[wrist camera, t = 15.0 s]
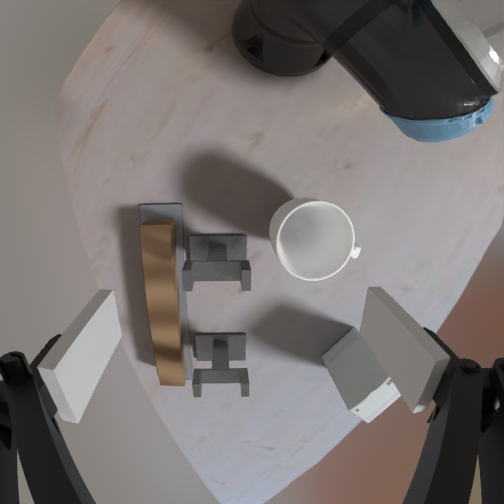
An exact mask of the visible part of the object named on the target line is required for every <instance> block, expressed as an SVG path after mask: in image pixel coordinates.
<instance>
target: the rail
mask: <svg viewBox="0 0 504 504" xmlns="http://www.w3.org/2000/svg"><path fill="white" fill-rule="evenodd" d="M140 236H141V249H142V261H143V272H144V282H145V291H146V299H147V307H148V315H149V322H150V329H151V335H152V341H153V348H154V353H155V359H156V365H157V370H158V375H159V380H160V385H166V386H185V379H186V372H187V370H186V362H185V354H184V344H183V335H182V325H181V314H180V302H179V289H178V274H177V257H176V236H175V219H157V220H146V221H145V222H144V223H142V224H141V225H140Z"/></svg>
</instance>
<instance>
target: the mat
mask: <svg viewBox="0 0 504 504" xmlns="http://www.w3.org/2000/svg"><path fill="white" fill-rule="evenodd" d="M140 218H141V224H142V223H144V222H145V221H146V220H157V219H175V236H176V257H177V274H178V289H179V302H180V314H181V325H182V335H183V344H184V354H185V362H186V370H187V372H186V379H185V380H193V367H192V357H191V348H190V337H189V326H188V315H187V302H186V291H183V285H182V268H183V266H184V252H183V226H182V204H157V205H140Z"/></svg>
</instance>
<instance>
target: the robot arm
mask: <svg viewBox="0 0 504 504" xmlns="http://www.w3.org/2000/svg"><path fill="white" fill-rule="evenodd" d="M232 32H233V38H234V42H235V44H236V46H237V48H238V50H239V51H240V53H241V54H242V55H243V56H244V58H245V59H246V60H248V61H249V62H250V63H251V64H253V65H254V66H256V67H257V68H259V69H261V70H263V71H265V72H268V73H271V74H275V75H279V76H289V77H291V76H302V75H306V74H309V73H312V72H314V71H316V70H318V69H319V68H321V67H322V66H323V65H324V64H325V63H326V62H327V61H329V60H330V58H331V57H334V58H335V59H336V60H337V61H338V62H339V63H340V64H341V65H342V66H343V67H344V68H345V69H346V70H347V71H348V72H349V73H350V74H351V75H352V76H353V77H354V79H355V80H356V81H357V82H358V83H359V84H360V85H361V86H362V87H363V88H364V89H365V90H366V91H367V93H368V94H369V95H370V96H371V97H372V98H373V99H374V100H375V102H376V103H377V104H378V105H379V107H380V110H381V111H382V112H383V113H384V114H385V115H386V116H388V117H389V118H390V119H391V120H392V121H393V122H394V123H395V124H396V125H397V127H398V128H399V129H400V130H401V131H402V132H403V133H404V134H405V135H406V136H408V137H410V138H413V139H415V140H417V141H421V142H441V141H446V140H451V139H454V138H457V137H460V136H462V135H465V134H467V133H469V132H471V131H472V130H474V129H476V124H481V123H484V122H485V121H486V120H487V119H488V117H489V116H490V114H491V112H492V110H493V102H492V101H493V99H492V96H493V95H495V94H498V93H500V92H502V90H503V85H504V0H244V1H243V2H242V3H241V4H240V5H239V7H238V9H237V10H236V13H235V15H234V19H233V28H232ZM360 333H361V335H362V336H363V338H364V339H365V341H366V342H367V344H368V345H369V347H370V348H371V350H372V351H373V353H374V354H375V356H376V357H377V359H378V360H379V362H380V363H381V365H382V366H383V368H384V369H385V371H386V372H387V374H388V375H389V377H390V378H391V380H392V382H393V383H394V385H395V386H396V388H397V389H398V391H399V392H400V394H401V396H402V397H403V399H404V400H405V402H406V404H407V405H408V407H409V408H410V410H411V411H412V413H416V412H419V411H423V410H426V409H427V408H428V406H429V404H430V402H431V400H432V399H433V400H434V401H435V403H436V406H435V408H434V410H433V412H432V414H431V416H430V418H429V419H428V421H427V423H429V422H430V421H431V422H430V426H429V429H428V433H427V436H426V440H425V443H424V446H423V450H422V453H421V456H420V459H419V462H418V465H417V468H416V471H415V473H414V476H413V479H412V481H411V484H410V487H409V489H408V492H407V494H406V497H405V499H404V501H403V504H468V503H469V499H470V494H471V489H472V485H473V479H474V474H475V468H476V462H477V455H478V458H479V467H480V479H481V495H482V504H504V358H498V359H496V360H495V362H494V364H493V366H492V368H481V366H480V365H479V364H478V363H476V362H475V361H473V360H470V359H465V358H464V359H459V358H458V357H457V356H456V354H455V353H454V352H453V351H452V350H451V349H450V348H449V347H448V346H447V345H446V344H444V342H443V341H442V340H440V338H439V337H438V336H437V335H436V334H435V333H434V332H432V331H431V330H429V329H427V328H425V327H424V328H422V327H421V326H420V325H419V324H418V323H417V322H416V321H415V320H414V319H413V318H412V317H411V316H410V315H409V314H408V313H407V312H406V311H405V310H404V309H403V308H402V307H401V306H400V305H399V304H398V303H397V302H396V301H395V300H394V299H393V298H392V297H391V296H390V295H389V294H388V293H387V292H386V291H385V290H384V289H382V288H381V287H368V290H367V296H366V301H365V307H364V312H363V317H362V322H361V327H360ZM121 337H122V333H121V328H120V324H119V319H118V314H117V309H116V303H115V298H114V292H113V290H99V291H98V293H97V294H96V295H95V296H94V297H93V298H92V299H91V301H90V302H89V303H88V304H87V305H86V306H85V308H84V309H83V310H82V311H81V313H80V314H79V315H78V316H77V317H76V318H75V320H74V321H73V322H72V323H71V325H70V326H69V327H68V328H67V330H66V331H65V332H64V333H63V334H62V335H61V334H58V335H56V336H55V337H53V338H52V339H50V340H49V341H48V343H47V344H46V345H45V348H43V349H42V350H41V352H40V353H39V354H38V355H37V356H36V358H35V359H34V360H33V362H32V363H31V364H30V365H29V364H28V362H27V359H26V357H25V356H24V354H23V353H21V352H17V351H15V352H9V353H7V354H4V355H3V356H2V357H0V374H1V376H2V378H3V380H2V381H0V504H20V503H19V492H18V475H17V450H18V454H19V458H20V461H21V465H22V468H23V471H24V475H25V478H26V481H27V484H28V487H29V490H30V492H31V495H32V498H33V501H34V503H35V504H96V503H95V501H94V500H93V498H92V496H91V494H90V492H89V491H88V489H87V487H86V485H85V483H84V481H83V479H82V478H81V476H80V473H79V471H78V469H77V467H76V465H75V463H74V461H73V459H72V457H71V455H70V452H69V450H68V448H67V446H66V443H65V441H64V438H63V436H62V434H61V431H60V429H59V426H58V423H57V421H56V419H55V418H54V415H55V414H56V412H57V410H58V412H59V414H60V416H61V418H62V419H63V420H65V421H69V422H74V423H79V421H80V419H81V417H82V414H83V412H84V410H85V408H86V406H87V404H88V402H89V400H90V398H91V396H92V393H93V391H94V389H95V387H96V385H97V383H98V381H99V379H100V377H101V375H102V373H103V371H104V369H105V367H106V365H107V363H108V361H109V359H110V357H111V356H112V353H113V352H114V350H115V348H116V346H117V344H118V342H119V340H120V339H121ZM498 406H500V407H499V408H498Z"/></svg>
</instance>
